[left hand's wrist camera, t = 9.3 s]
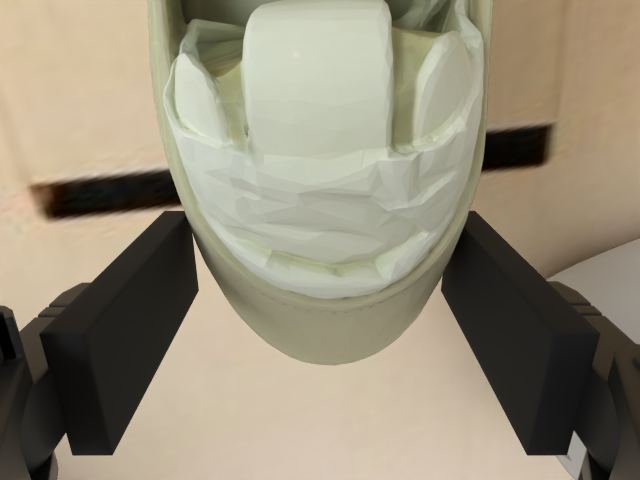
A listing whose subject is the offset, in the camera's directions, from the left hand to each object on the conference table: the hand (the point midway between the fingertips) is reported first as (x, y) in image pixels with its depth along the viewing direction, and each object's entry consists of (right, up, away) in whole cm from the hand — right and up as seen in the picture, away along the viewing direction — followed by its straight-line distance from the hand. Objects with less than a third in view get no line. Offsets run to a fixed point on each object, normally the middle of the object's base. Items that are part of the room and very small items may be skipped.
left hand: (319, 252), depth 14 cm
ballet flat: (0, +8, -2) cm, 8 cm away
